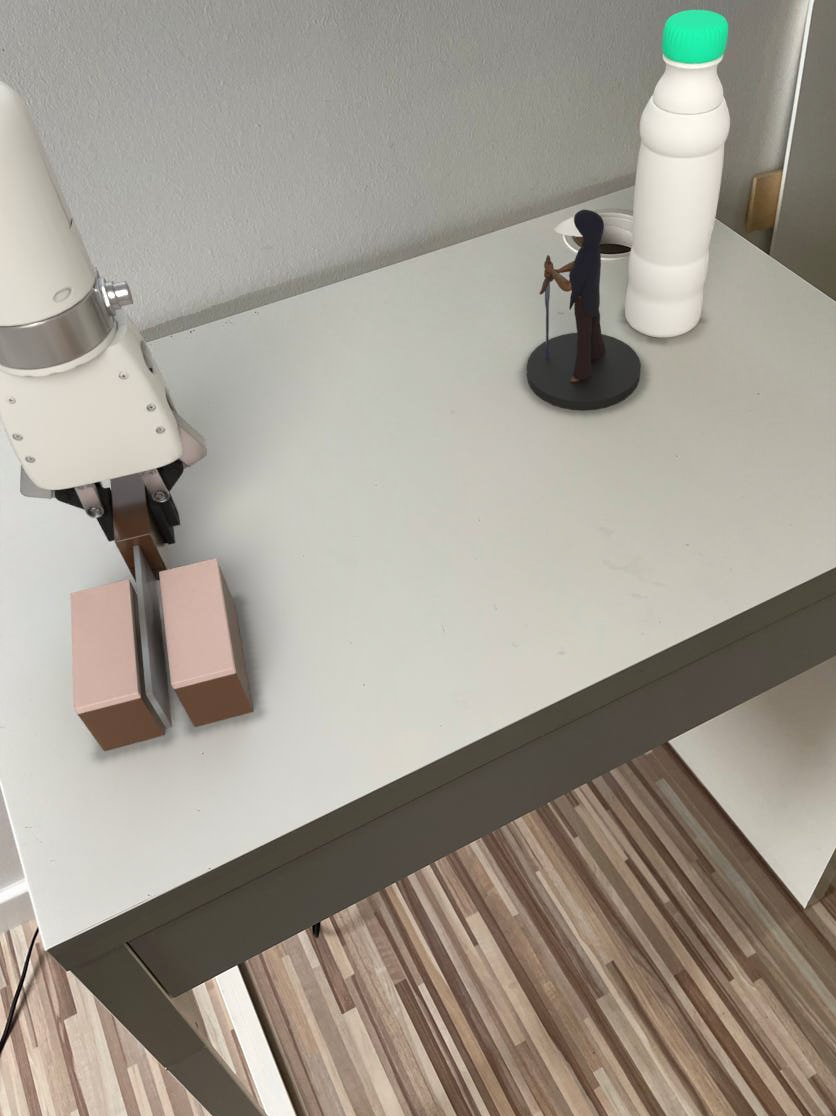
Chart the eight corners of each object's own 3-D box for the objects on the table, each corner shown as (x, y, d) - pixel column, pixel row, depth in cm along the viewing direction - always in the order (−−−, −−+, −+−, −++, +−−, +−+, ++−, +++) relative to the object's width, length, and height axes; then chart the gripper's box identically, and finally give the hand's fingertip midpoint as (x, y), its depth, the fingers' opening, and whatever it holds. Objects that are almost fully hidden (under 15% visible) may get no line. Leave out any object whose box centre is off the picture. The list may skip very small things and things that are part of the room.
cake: (98, 638, 68) (70, 592, 64) (235, 604, 69) (216, 557, 65) (103, 752, 62) (73, 709, 58) (253, 712, 63) (234, 667, 59)
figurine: (552, 331, 88) (554, 170, 76) (655, 354, 85) (674, 191, 73) (508, 394, 82) (503, 231, 70) (616, 421, 79) (629, 256, 67)
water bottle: (679, 349, 85) (721, 44, 65) (610, 327, 87) (631, 27, 68) (712, 310, 88) (762, 8, 69) (645, 290, 91) (674, -6, 71)
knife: (130, 502, 72) (108, 458, 68) (161, 495, 72) (141, 450, 69) (150, 732, 59) (124, 692, 55) (188, 722, 59) (165, 681, 56)
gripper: (175, 258, 58) (249, 479, 73) (-93, 312, 56) (38, 528, 71) (186, 324, 54) (262, 545, 68) (-105, 385, 51) (38, 600, 66)
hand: (148, 535), depth 69 cm, fingers closed on knife, 2 cm apart
